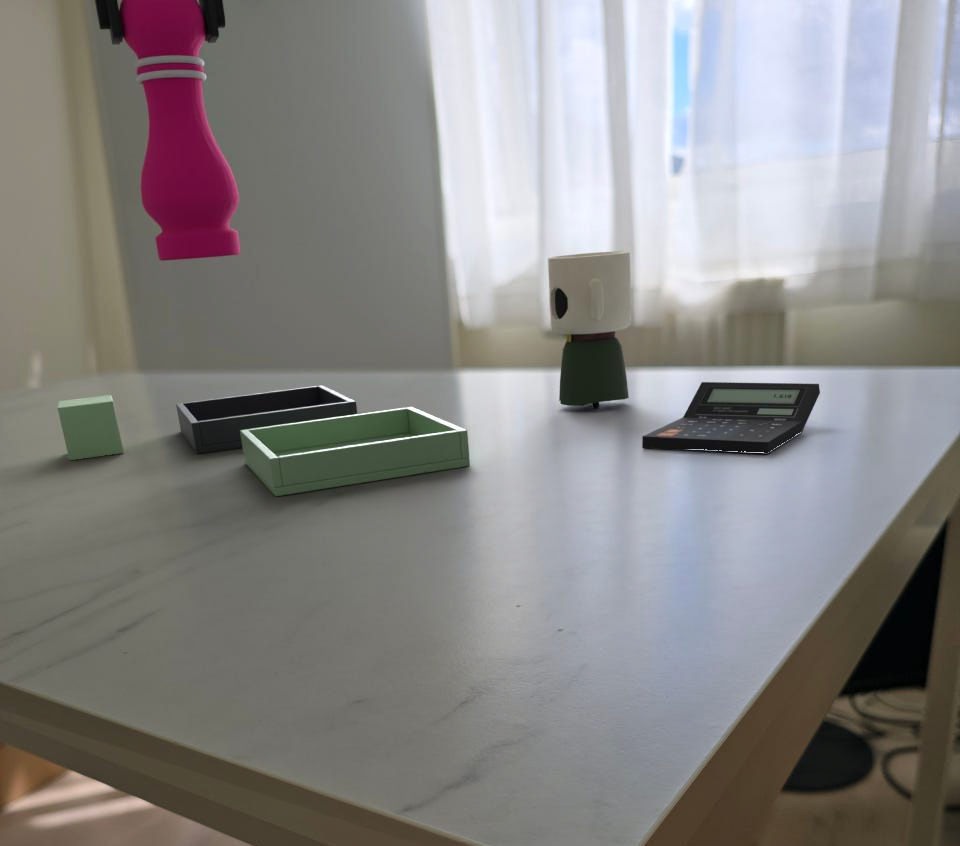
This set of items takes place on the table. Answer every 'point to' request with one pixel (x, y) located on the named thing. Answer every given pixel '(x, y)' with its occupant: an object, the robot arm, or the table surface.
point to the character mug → (591, 324)
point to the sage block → (90, 427)
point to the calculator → (739, 417)
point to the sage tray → (353, 449)
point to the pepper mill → (179, 133)
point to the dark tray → (256, 414)
